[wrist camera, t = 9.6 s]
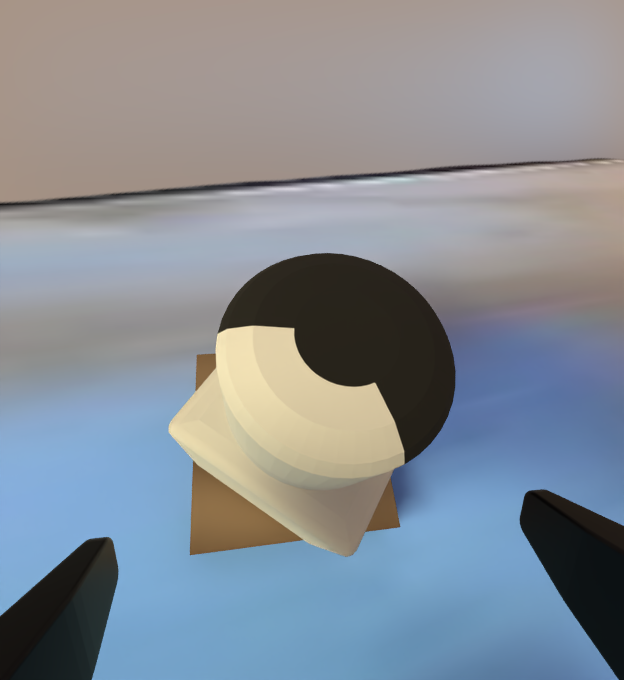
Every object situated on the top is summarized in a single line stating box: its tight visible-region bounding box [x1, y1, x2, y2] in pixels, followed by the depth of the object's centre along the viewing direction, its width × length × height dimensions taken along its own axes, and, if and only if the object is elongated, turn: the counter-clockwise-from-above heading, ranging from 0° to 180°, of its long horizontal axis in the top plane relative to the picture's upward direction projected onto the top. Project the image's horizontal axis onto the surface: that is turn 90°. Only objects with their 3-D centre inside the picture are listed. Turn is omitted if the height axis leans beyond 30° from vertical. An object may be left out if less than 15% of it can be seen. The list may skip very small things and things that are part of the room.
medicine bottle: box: [169, 253, 455, 557], centre depth 14 cm, size 7×7×12 cm
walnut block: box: [190, 354, 400, 555], centre depth 20 cm, size 10×10×3 cm
